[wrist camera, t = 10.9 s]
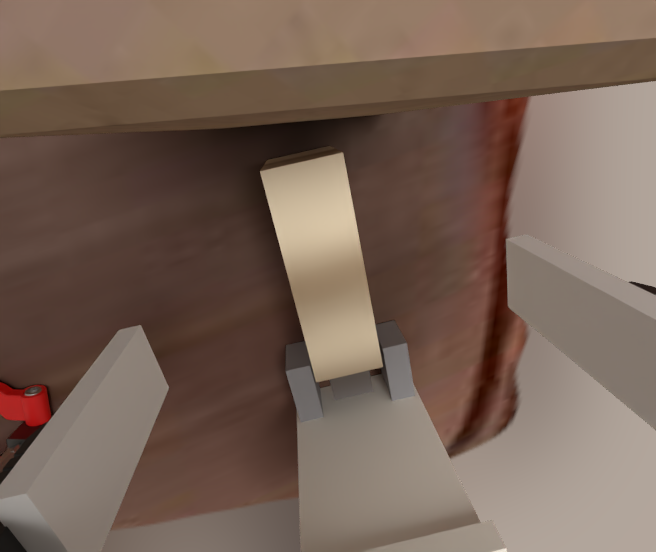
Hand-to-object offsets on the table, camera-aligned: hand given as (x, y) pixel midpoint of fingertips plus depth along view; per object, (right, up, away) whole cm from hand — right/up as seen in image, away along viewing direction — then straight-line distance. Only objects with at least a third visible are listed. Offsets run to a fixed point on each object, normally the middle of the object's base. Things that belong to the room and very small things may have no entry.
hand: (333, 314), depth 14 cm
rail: (0, +2, +11) cm, 11 cm away
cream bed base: (+1, -6, +14) cm, 15 cm away
